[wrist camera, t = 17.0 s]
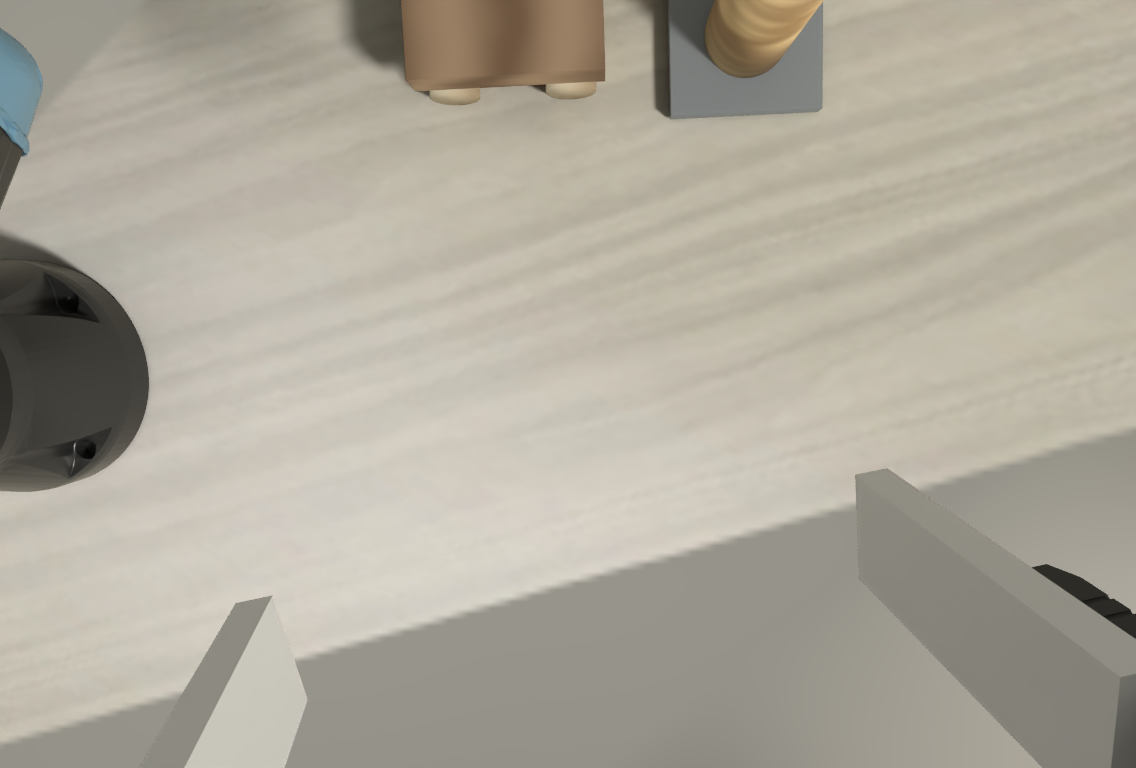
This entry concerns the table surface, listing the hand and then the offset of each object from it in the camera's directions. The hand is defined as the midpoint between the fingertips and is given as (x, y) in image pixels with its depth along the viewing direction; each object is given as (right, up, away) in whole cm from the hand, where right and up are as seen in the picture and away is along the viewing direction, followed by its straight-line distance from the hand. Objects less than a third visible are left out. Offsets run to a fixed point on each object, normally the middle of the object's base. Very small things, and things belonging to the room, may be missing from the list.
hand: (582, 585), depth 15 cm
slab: (-4, +27, +26) cm, 38 cm away
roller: (+10, +25, +25) cm, 37 cm away
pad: (+10, +25, +26) cm, 38 cm away
